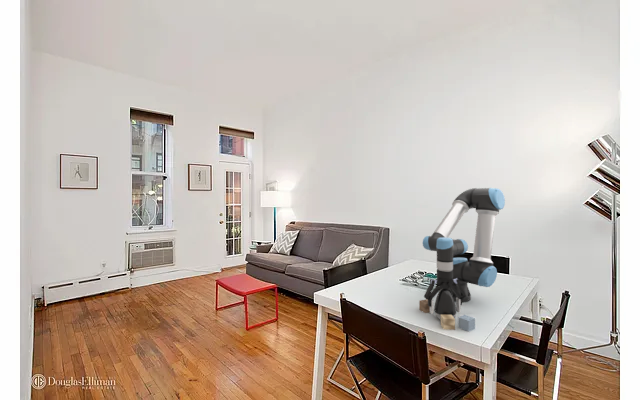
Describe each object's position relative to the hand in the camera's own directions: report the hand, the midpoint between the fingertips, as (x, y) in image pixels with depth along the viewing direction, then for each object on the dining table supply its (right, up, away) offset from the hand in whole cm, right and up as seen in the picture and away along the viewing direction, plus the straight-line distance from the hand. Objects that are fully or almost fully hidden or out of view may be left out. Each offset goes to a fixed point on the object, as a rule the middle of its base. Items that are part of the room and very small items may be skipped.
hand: (445, 312), depth 156 cm
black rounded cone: (0, -4, 0) cm, 4 cm away
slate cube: (+6, -4, -11) cm, 13 cm away
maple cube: (-2, -4, -9) cm, 10 cm away
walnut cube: (-6, -3, +11) cm, 13 cm away
